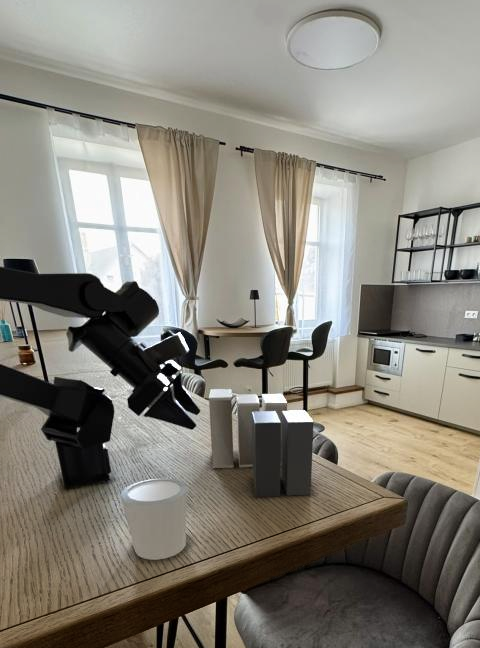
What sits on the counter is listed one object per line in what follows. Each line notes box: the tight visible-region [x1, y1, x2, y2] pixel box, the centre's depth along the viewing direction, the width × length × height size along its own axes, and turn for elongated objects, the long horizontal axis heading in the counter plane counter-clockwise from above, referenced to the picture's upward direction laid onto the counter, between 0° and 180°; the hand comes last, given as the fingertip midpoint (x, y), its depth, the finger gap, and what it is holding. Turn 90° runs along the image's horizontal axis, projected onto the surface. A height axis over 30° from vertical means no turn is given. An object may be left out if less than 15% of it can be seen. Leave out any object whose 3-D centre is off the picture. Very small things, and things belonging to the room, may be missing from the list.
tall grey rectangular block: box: [252, 410, 281, 498], centre depth 60 cm, size 4×6×11 cm, turn 7°
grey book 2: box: [280, 410, 315, 497], centre depth 61 cm, size 4×6×11 cm, turn 7°
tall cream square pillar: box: [208, 388, 235, 469], centre depth 70 cm, size 4×7×12 cm, turn 7°
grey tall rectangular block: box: [236, 393, 261, 468], centre depth 71 cm, size 4×7×11 cm, turn 7°
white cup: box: [120, 478, 188, 561], centre depth 46 cm, size 7×7×7 cm
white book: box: [261, 393, 288, 467], centre depth 72 cm, size 4×7×11 cm, turn 7°
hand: (196, 419), depth 69 cm, fingers open, 9 cm apart
